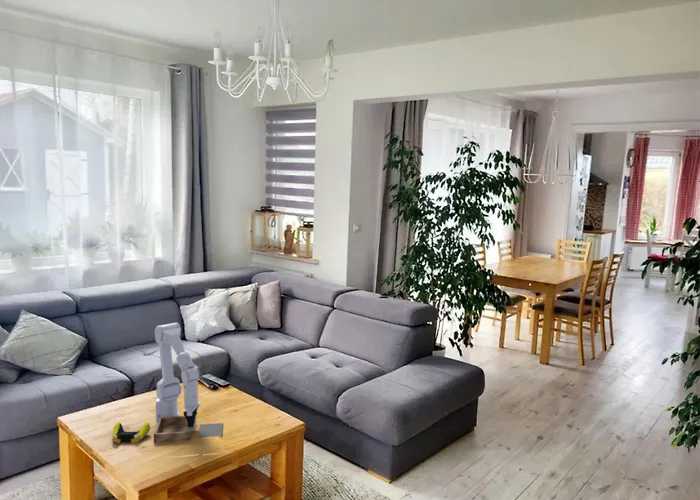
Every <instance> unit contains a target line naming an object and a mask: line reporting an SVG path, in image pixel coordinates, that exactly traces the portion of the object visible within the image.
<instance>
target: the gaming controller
mask: <svg viewBox="0 0 700 500" xmlns="http://www.w3.org/2000/svg"><path fill="white" fill-rule="evenodd" d="M150 429H151V425H150V423H149V422H144V424H143V425H142V427H141V428H140V429H139V430H138V431H125V430H124V428H123V425H122V423H121V422H116V423H115V425H114V426H113V428H112V441H113V442H114V443H116V444H123V443H124V444H126V443H127V444H129V443H130V444H135V443H138V442H140V441H142V440H143V439H144V438H145V437H146V436H147V435H148V433H149V432H150Z"/></svg>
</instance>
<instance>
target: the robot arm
mask: <svg viewBox="0 0 700 500" xmlns="http://www.w3.org/2000/svg"><path fill="white" fill-rule="evenodd" d="M181 332H182V328H181V325H180V323H178V322H173V323H167V324H161V325H156V327H155V329H154V338H155V342H156V343H157V344H158V350H159V357H160V367H161V376H162V378H161V379H160V380H159V381H158V382H157V383H156V391H155V393H156V396H157V398H156V401H155V421H158V420H159V418H160V417H176V416H179V415H180V411H178V410H179V409H178V399H179V398H180V397H179V396H180V395H181V394H182V385H183V401H184V402H183V408H184V409H185V411H183V416H185V418H186V420H187V424H188V427H193V426H194V421H195V417H196V418H197V414H198V409H199V407H201V405H202V403H201V402H199V386H198V385H199V381H198V380H199V379H200V378H201V371H200V368H199V366H197V365H196V364H195V363H194V362H193V360H192V357H191V355H190V353H189V352H187V351H185V348H184V345H183V342H182V339H181V334H182V333H181ZM172 349H173V351H174V352H175V354H176V360H175V361H176V362H177V364H178V367H179V368H180V371H181V373H180V377H181V381H182V385H181V381H180V379H179V378H177V377H175V375H174V365H173V357H172V356H173V355H172Z"/></svg>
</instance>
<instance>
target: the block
mask: <svg viewBox="0 0 700 500" xmlns="http://www.w3.org/2000/svg"><path fill="white" fill-rule="evenodd" d="M196 429H197V416H196V417H195V421H194V426H193V427H188V424H187V420H186V430H193V431H195V430H196Z"/></svg>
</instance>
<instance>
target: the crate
mask: <svg viewBox="0 0 700 500" xmlns="http://www.w3.org/2000/svg"><path fill="white" fill-rule="evenodd" d="M155 426H156V427H155V429H154V431H153V443H166V442H167V443H168V442H169V443H170V442H182V441H183V442H184V441H192V437H193V433H194V430H186V418H185V416H184V415H180V416H179V415H178V416H176V417H160V418H159V420H157V424H156V425H155Z"/></svg>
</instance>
